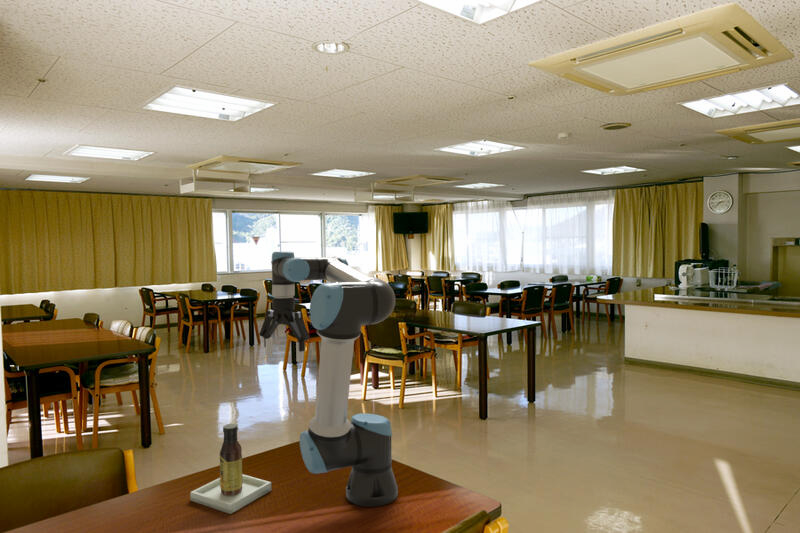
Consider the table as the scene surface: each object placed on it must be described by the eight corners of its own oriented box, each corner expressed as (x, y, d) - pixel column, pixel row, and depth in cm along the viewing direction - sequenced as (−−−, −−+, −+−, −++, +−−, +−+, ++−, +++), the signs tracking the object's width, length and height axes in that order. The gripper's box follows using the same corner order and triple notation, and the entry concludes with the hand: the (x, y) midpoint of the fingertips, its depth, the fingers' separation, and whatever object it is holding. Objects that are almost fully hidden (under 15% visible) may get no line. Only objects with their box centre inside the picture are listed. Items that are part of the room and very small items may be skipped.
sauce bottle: (223, 487, 159) (221, 422, 158) (244, 486, 159) (243, 421, 158) (217, 497, 152) (216, 429, 151) (240, 496, 153) (239, 428, 152)
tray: (271, 490, 159) (271, 482, 159) (230, 514, 145) (230, 505, 145) (232, 479, 166) (232, 471, 166) (190, 500, 152) (190, 492, 152)
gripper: (319, 297, 177) (320, 360, 178) (263, 294, 189) (264, 353, 190) (305, 299, 171) (306, 364, 171) (248, 296, 183) (249, 357, 183)
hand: (284, 359), depth 181 cm, fingers open, 13 cm apart
